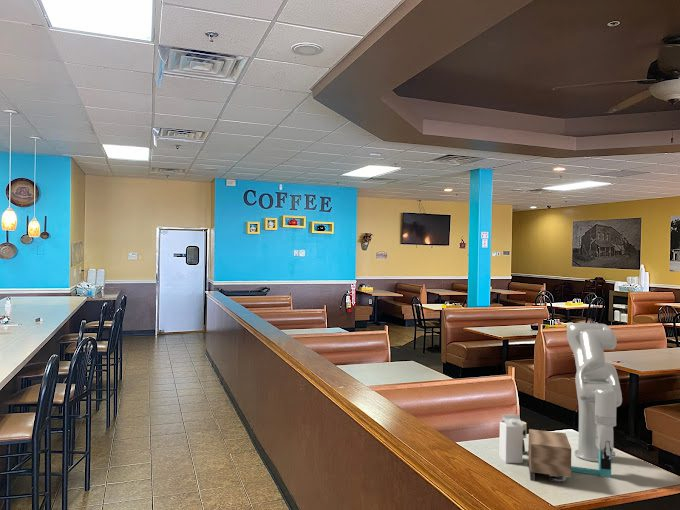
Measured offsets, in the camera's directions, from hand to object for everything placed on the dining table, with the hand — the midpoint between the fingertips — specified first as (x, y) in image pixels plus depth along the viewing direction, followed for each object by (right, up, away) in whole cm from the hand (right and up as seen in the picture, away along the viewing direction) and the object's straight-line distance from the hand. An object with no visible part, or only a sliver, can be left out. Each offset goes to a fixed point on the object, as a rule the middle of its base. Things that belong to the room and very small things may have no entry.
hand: (604, 466), depth 203 cm
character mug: (-26, -3, +24) cm, 36 cm away
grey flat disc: (-21, -2, -6) cm, 22 cm away
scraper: (-7, -3, +2) cm, 8 cm away
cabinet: (-23, -2, -1) cm, 23 cm away
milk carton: (-33, -3, +14) cm, 36 cm away
